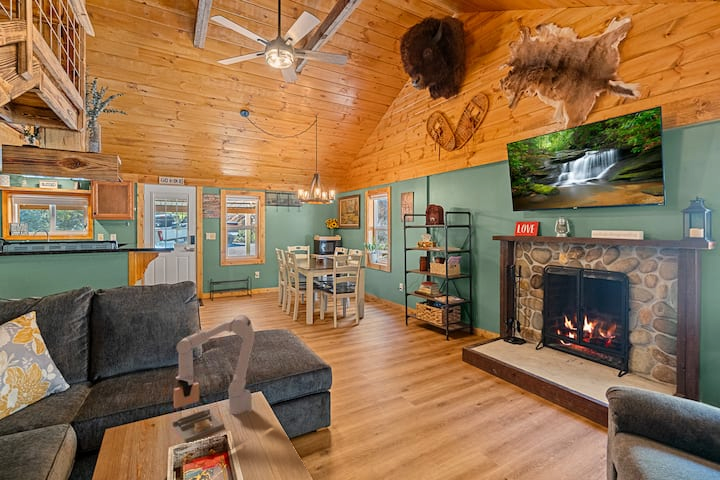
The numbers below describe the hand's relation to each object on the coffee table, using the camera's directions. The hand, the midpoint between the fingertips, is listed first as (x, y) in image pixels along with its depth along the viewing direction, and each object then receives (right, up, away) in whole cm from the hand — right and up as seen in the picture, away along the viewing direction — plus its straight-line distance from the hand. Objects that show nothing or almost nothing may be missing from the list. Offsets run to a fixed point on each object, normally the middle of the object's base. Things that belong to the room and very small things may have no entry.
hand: (186, 395), depth 152 cm
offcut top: (+13, -7, -13) cm, 20 cm away
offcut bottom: (+14, -9, -12) cm, 20 cm away
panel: (0, -4, 0) cm, 4 cm away
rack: (+10, -10, -10) cm, 17 cm away
